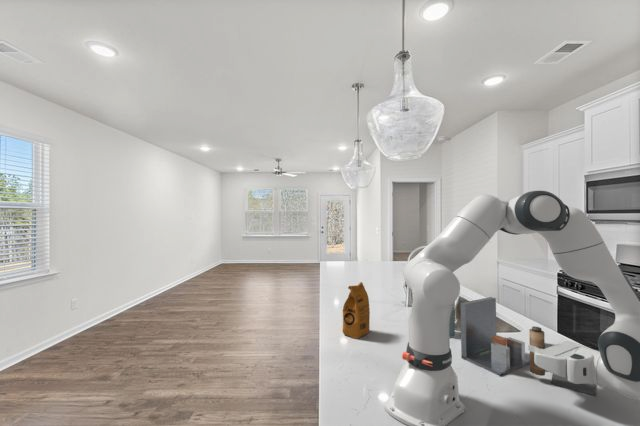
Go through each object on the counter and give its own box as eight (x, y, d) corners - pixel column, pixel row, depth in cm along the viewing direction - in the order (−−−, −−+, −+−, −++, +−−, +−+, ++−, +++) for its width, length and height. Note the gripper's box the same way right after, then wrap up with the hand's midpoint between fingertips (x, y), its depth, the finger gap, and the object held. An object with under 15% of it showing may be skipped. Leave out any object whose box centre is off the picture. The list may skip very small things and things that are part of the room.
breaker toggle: (501, 361, 100) (500, 340, 101) (492, 357, 103) (492, 337, 103) (506, 359, 102) (506, 338, 102) (498, 355, 105) (497, 335, 105)
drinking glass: (458, 338, 123) (458, 310, 123) (433, 337, 125) (433, 309, 125) (452, 330, 133) (452, 303, 133) (429, 328, 135) (429, 302, 135)
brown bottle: (544, 377, 89) (543, 331, 89) (529, 372, 91) (528, 327, 92) (545, 372, 91) (544, 327, 92) (530, 368, 94) (530, 324, 94)
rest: (595, 396, 82) (595, 395, 82) (550, 383, 89) (550, 381, 89) (594, 382, 90) (594, 380, 90) (553, 370, 97) (553, 369, 97)
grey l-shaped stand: (500, 376, 93) (498, 313, 94) (461, 357, 106) (460, 303, 106) (530, 363, 102) (529, 306, 102) (491, 347, 114) (490, 297, 115)
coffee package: (339, 334, 128) (338, 284, 129) (354, 326, 138) (354, 280, 138) (357, 340, 122) (357, 288, 122) (373, 331, 131) (372, 283, 132)
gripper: (605, 346, 85) (550, 330, 97) (571, 361, 76) (515, 341, 88) (606, 368, 85) (551, 349, 97) (571, 385, 75) (515, 362, 88)
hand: (533, 345), depth 92 cm, fingers closed on brown bottle, 4 cm apart
